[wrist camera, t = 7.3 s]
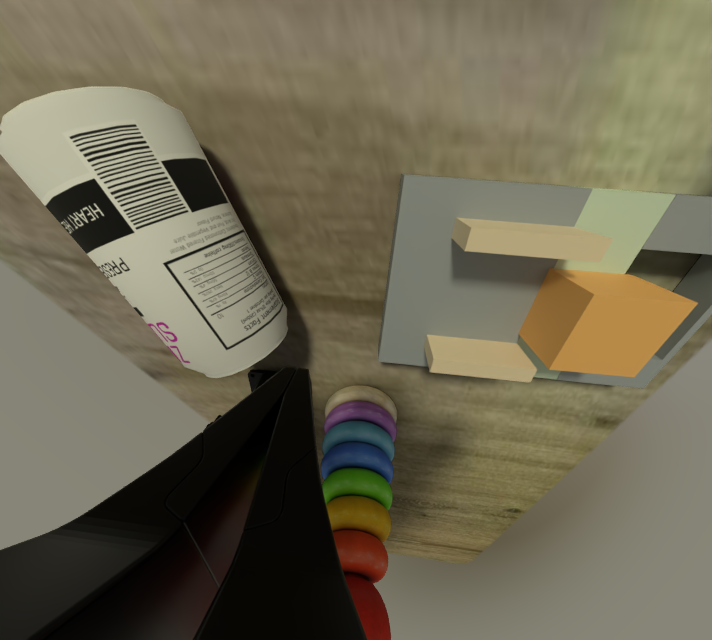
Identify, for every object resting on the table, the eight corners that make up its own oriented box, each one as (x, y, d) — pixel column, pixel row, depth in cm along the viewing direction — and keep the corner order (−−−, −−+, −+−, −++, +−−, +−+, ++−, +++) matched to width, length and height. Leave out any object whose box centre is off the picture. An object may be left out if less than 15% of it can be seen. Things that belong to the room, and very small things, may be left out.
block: (588, 339, 19) (634, 377, 16) (518, 333, 19) (548, 369, 16) (631, 274, 16) (698, 303, 13) (549, 268, 17) (594, 294, 13)
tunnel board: (619, 368, 23) (680, 419, 18) (378, 344, 24) (378, 387, 19) (754, 199, 16) (911, 213, 11) (401, 174, 17) (409, 176, 12)
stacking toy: (317, 415, 30) (246, 696, 14) (342, 371, 26) (281, 692, 10) (377, 436, 31) (373, 718, 15) (409, 396, 27) (451, 722, 11)
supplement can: (196, 117, 17) (294, 307, 24) (74, 161, 16) (210, 342, 23) (131, 54, 10) (297, 350, 17) (-91, 127, 9) (177, 403, 16)
